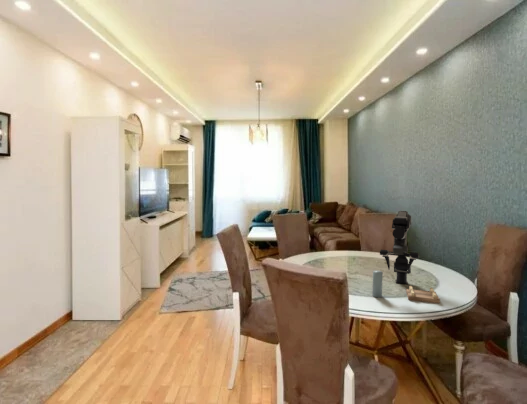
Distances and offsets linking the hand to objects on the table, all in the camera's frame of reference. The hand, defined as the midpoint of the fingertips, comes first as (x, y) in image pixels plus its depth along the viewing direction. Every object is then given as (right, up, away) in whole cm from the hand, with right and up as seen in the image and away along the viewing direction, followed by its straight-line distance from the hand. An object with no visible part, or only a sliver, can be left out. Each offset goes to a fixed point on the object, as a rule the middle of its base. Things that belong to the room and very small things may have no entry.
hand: (398, 270), depth 169 cm
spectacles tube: (-11, -13, +1) cm, 17 cm away
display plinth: (+12, -14, -1) cm, 18 cm away
